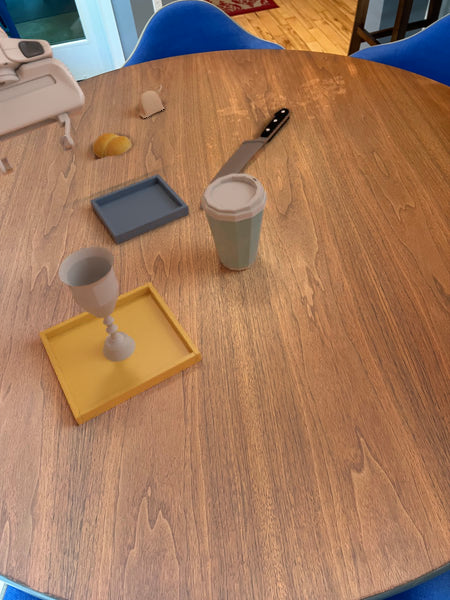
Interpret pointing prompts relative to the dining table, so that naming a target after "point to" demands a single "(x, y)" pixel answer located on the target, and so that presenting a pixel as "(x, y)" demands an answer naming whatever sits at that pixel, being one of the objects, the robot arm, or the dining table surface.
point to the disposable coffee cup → (235, 218)
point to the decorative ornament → (150, 102)
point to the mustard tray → (123, 374)
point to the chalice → (97, 294)
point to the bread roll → (111, 145)
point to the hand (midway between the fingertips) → (40, 160)
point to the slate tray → (139, 208)
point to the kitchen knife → (253, 145)
